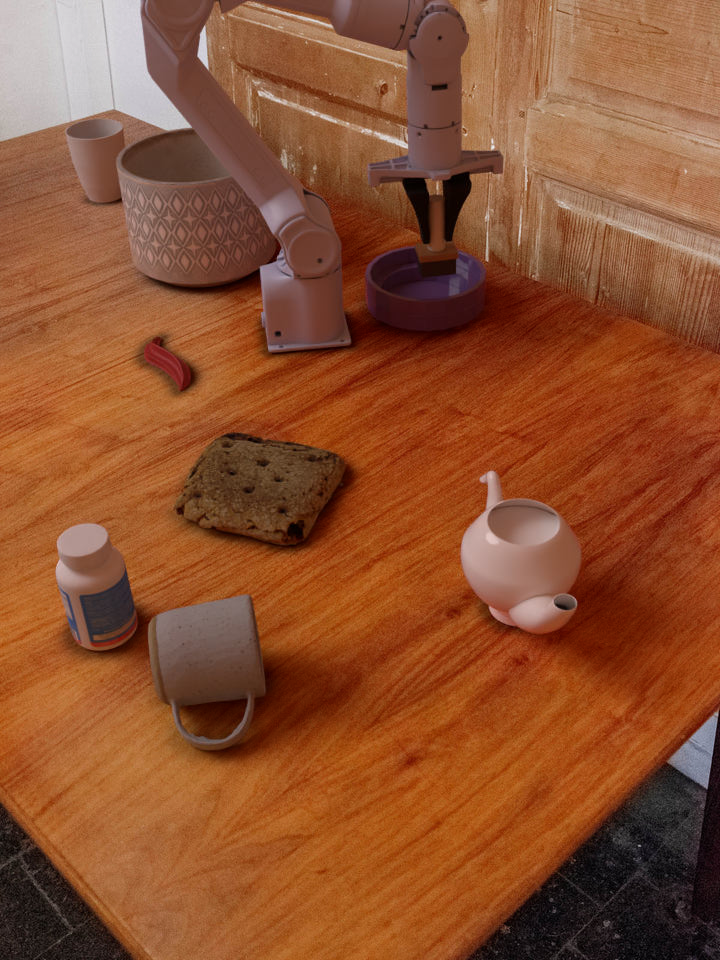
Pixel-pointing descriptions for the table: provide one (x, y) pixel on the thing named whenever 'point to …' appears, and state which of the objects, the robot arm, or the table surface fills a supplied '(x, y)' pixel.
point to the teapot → (522, 561)
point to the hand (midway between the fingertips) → (436, 239)
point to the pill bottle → (95, 588)
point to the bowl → (423, 292)
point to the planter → (189, 213)
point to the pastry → (260, 487)
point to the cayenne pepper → (168, 363)
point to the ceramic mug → (207, 660)
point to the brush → (436, 244)
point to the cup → (97, 156)
